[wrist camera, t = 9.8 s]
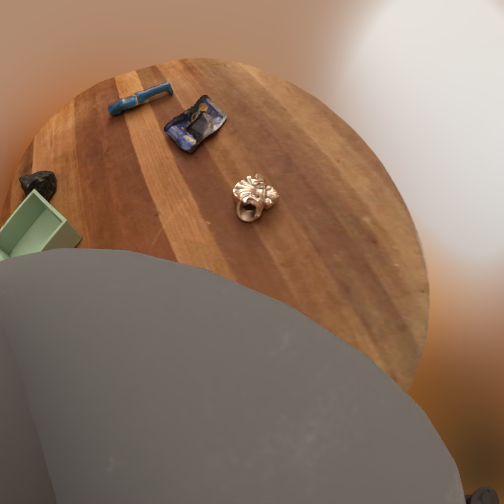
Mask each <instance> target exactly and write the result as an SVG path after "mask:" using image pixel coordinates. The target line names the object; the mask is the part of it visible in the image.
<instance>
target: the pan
mask: <svg viewBox="0 0 504 504" xmlns="http://www.w3.org/2000/svg"><path fill="white" fill-rule="evenodd" d="M81 239H82V237H81V236H80V235H79V234H78V233H77V231H76V230H75V229H74V228H73V227H72V226H71V224H70V223H69V222H68V221H67V220H66V219H65V218H64V217H63V216H62V215H61V214H60V213H59V212H58V211H57V210H56V209H55V208H53V207H52V206H51V205H50V204H49V203H48V202H47V201H46V200H45V199H44V198H43V197H42V196H41V195H40V194H39V193H38V192H37V191H36V190H35V189H34V190H33V191H32V192H31V193H30V194H29V195H28V196H27V198H26V199H25V200H24V201H23V202H22V203H21V204H20V206H19V207H18V208H17V209H16V210H15V212H14V213H13V214H12V215H11V217H10V218H9V219H8V220H7V222H6V223H5V224H4V225H3V227H2V228H1V229H0V260H1V261H2V260H4V259H7V258H12V257H16V256H21V255H26V254H31V253H36V252H41V251H46V250H51V249H57V248H74V247H75V246H76V245H77V244H78V243H79V241H80V240H81Z"/></svg>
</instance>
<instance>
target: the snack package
mask: <svg viewBox="0 0 504 504" xmlns="http://www.w3.org/2000/svg"><path fill="white" fill-rule="evenodd" d="M226 116H227V115H226V113H225V112H223V111H222V110H221V109H220V108H219V107H218V106H217V105H216V104H215V103H214V102H213V101H212V100H211V99H210V97H208V96H207V95H203V96H202V97H200V99H199V100H198V101H197V102H196V104H195V105H194V106H193V107H192V106H191V108H190V109H188V110H186V111H185V112H183V113H182V114H180V115H179V116H177V117H174V118H173V120H171V121H170V122H169V123H168V124H167V125H166V126H165V127H164V131H165V132H166V133H167V134H168V135H170V136H171V137H172V138H173V140H174V141H175V142H176V143H177V145H178V146H179V147H180V148H181V149H183V150H185V151H187V152H189V153H192V152H193V151H194V150H195V148H196V147H197V145H198V144H199V143H200V142H201V141H202V140H203V139H205V138H206V137H207V136H208V135H210V134H211V133H213V132H214V131H215V130H217V129H218V128H219V127H220V126H221V125H222V124H223V122H224V120H225V119H226Z"/></svg>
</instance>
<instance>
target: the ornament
mask: <svg viewBox="0 0 504 504" xmlns="http://www.w3.org/2000/svg"><path fill="white" fill-rule="evenodd" d="M255 176H256V177H257V178H258V179H252V180H251V176H248V177H247V178H246V179H242V181H241V182H239V183H238V184H236V186H235V187H234V189H233V199H234V201H235V203H236V204H237V207H236V212H237V215H238V217H239V218H240V219H241V220H243V221H245V222H252V221H254V220H255V219H257V218H259V217H260V215H261V212H262V210H263V208H265V209H268V208H270V207H271V206H272V205H274V204H276V203H277V202H278V201H279V194H278V193H277V191H276V190H274V189H273V188H272V187H271V186H269V185H268V186H266V184H265V182H266V179H265V178H264V177H263V176H262V175H261V174H259V173H257V174H256V175H255ZM265 186H266V187H265ZM248 204H252V205H254V206H256V208H255V209H253V210H245V209H244V208H243V207H244V206H246V205H248Z"/></svg>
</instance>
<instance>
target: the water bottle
mask: <svg viewBox="0 0 504 504" xmlns="http://www.w3.org/2000/svg"><path fill="white" fill-rule="evenodd" d="M0 504H466V501H465V497H464V492H463V488H462V484H461V480H460V476H459V472H458V469H457V466H456V463H455V461H454V460H453V458H452V456H451V454H450V453H449V451H448V450H447V448H446V446H445V444H444V443H443V441H442V439H441V438H440V436H439V435H438V433H437V431H436V430H435V428H434V427H433V425H432V423H431V422H430V420H429V418H428V417H427V415H426V414H425V412H424V411H423V409H422V408H421V407H420V406H419V405H418V404H417V403H416V402H415V401H413V399H412V398H410V397H409V396H408V395H407V394H406V393H405V392H404V391H403V390H402V389H401V388H400V387H399V386H398V385H397V384H396V383H395V382H394V381H393V380H392V379H391V378H390V377H389V376H388V375H387V374H386V373H385V372H384V371H383V370H382V369H381V368H379V367H378V366H377V365H376V364H375V363H374V362H373V361H372V360H371V359H370V358H369V357H368V356H367V355H366V354H364V353H363V352H361V351H359V350H358V349H356V348H355V347H353V346H352V345H350V344H348V343H347V342H345V341H344V340H342V339H341V338H339V337H338V336H336V335H334V334H333V333H331V332H330V331H328V330H327V329H325V328H324V327H322V326H320V325H319V324H317V323H316V322H314V321H313V320H311V319H310V318H308V317H307V316H305V315H304V314H302V313H301V312H299V311H298V310H296V309H294V308H293V307H291V306H290V305H287V304H285V303H283V302H280V301H278V300H276V299H273V298H271V297H268V296H266V295H264V294H261V293H259V292H257V291H254V290H252V289H250V288H248V287H245V286H243V285H241V284H238V283H236V282H234V281H231V280H229V279H227V278H225V277H222V276H220V275H218V274H216V273H213V272H211V271H209V270H207V269H203V268H199V267H195V266H190V265H186V264H182V263H178V262H174V261H169V260H165V259H161V258H157V257H153V256H149V255H145V254H141V253H137V252H133V251H129V250H107V249H82V248H57V249H51V250H46V251H41V252H36V253H31V254H26V255H21V256H16V257H12V258H7V259H4V260H2V261H0Z"/></svg>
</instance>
